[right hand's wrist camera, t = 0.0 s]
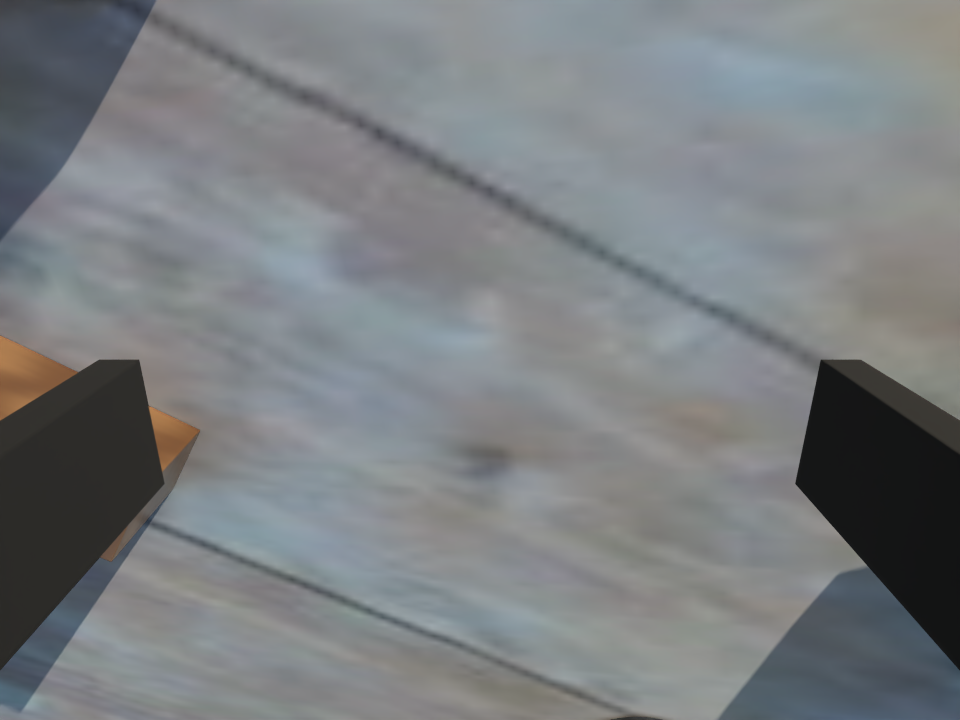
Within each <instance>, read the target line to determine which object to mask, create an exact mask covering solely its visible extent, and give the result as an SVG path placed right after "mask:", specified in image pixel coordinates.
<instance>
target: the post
mask: <svg viewBox="0 0 960 720" xmlns="http://www.w3.org/2000/svg"><path fill="white" fill-rule="evenodd" d="M77 373H78V372H76V371H74V370H72V369H70V368H68V367H65V366H63V365H61V364H59V363H57V362H55V361H53V360H51V359H49V358H47V357H44V356H42V355H40V354H38V353H36V352H34V351H32V350H30V349H28V348H25V347H23V346H21V345H19V344H17V343H15V342H13V341H11V340H9V339H6V338H4V337H2V336H0V420H2V419H4V418H5V417H7V416H8V415H10V414H12V413H13V412H15V411H17V410H18V409H20V408H21V407H23V406H25V405H26V404H28V403H30V402H31V401H33V400H35V399H36V398H38V397H39V396H41V395H43V394H44V393H46V392H48V391H49V390H51V389H52V388H54V387H56V386H57V385H59V384H61V383H62V382H64V381H65V380H67V379H69V378H70V377H72V376H74V375H75V374H77ZM149 410H150V415H151V420H152V425H153V430H154V434H155V439H156V444H157V449H158V454H159V459H160V463H161V468H162V473H163V478H164V483H165V484H164V485H163V486H162V487H161V489H160V490H159V491H158V492H157V493H156V494H155V495H154V496H153V498H152V499H151V500H150V501H149V502H148V503H147V504H146V506H145V507H144V508H143V509H142V510H141V511H140V512H139V513H138V515H137V516H136V517H135V518H134V519H133V520H132V521H131V523H130V524H129V525H128V526H127V527H126V528H125V529H124V530H123V532H122V533H121V534H120V535H119V536H118V537H117V538H116V540H115V541H114V542H113V543H112V544H111V545H110V546H109V547H108V549H107V550H106V551H105V552H104V553H103V554H102V555H101V557H100V558H103V559H105V560H108V561H110V562H112V561H113V559H114V558H115V557H116V556H117V555H118V554H119V552H120V551H121V550H122V549H123V548H124V546H125V545H126V544H127V543H128V542H129V541H130V539H131V538H132V537H133V536H134V535H135V533H136V532H137V531H138V530H139V529H140V528H141V526H142V525H143V524H144V523H145V522H146V520H147V519H148V518H149V517H150V516H151V515H152V513H153V512H154V511H155V510H156V509H157V507H158V506H159V505H160V504H161V503H162V502H163V500H164V499H165V498H166V497H167V496H168V494H169V493H170V492H171V491H172V490H173V488H174V486H175V484H176V481H177V479H178V477H179V475H180V473H181V471H182V469H183V466H184V464H185V462H186V460H187V458H188V456H189V454H190V451H191V449H192V447H193V445H194V443H195V441H196V439H197V436H198V434H199V432H200V430H198V429H196V428H194V427H192V426H190V425H188V424H186V423H184V422H182V421H179V420H177V419H175V418H173V417H171V416H169V415H167V414H165V413H163V412H160V411H158V410H156V409H154V408H152V407H150V406H149Z"/></svg>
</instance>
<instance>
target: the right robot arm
mask: <svg viewBox="0 0 960 720" xmlns="http://www.w3.org/2000/svg"><path fill="white" fill-rule="evenodd" d="M164 484H165V483H164V478H163V473H162V468H161V463H160V459H159V454H158V449H157V444H156V439H155V434H154V430H153V425H152V420H151V415H150V410H149V405H148V401H147V396H146V391H145V386H144V381H143V376H142V371H141V367H140V362H139V360H98V361H96V362H95V363H93V364H92V365H90V366H88V367H87V368H85V369H83V370H82V371H80V372H79V373H77V374H75V375H74V376H72V377H70V378H69V379H67V380H65V381H64V382H62V383H61V384H59V385H57V386H56V387H54V388H52V389H51V390H49V391H48V392H46V393H44V394H43V395H41V396H39V397H38V398H36V399H35V400H33V401H31V402H30V403H28V404H26V405H25V406H23V407H21V408H20V409H18V410H17V411H15V412H13V413H12V414H10V415H8V416H7V417H5V418H4V419H2V420H0V670H1V669H2V668H3V667H4V665H5V664H6V663H7V662H8V661H9V660H10V659H11V657H12V656H13V655H14V654H15V653H16V652H17V651H18V650H19V648H20V647H21V646H22V645H23V644H24V643H25V642H26V640H27V639H28V638H29V637H30V636H31V635H32V634H33V633H34V631H35V630H36V629H37V628H38V627H39V626H40V625H41V623H42V622H43V621H44V620H45V619H46V618H47V617H48V616H49V614H50V613H51V612H52V611H53V610H54V609H55V608H56V606H57V605H58V604H59V603H60V602H61V601H62V600H63V599H64V597H65V596H66V595H67V594H68V593H69V592H70V591H71V589H72V588H73V587H74V586H75V585H76V584H77V583H78V582H79V580H80V579H81V578H82V577H83V576H84V575H85V574H86V572H87V571H88V570H89V569H90V568H91V567H92V566H93V564H94V563H95V562H96V561H97V560H98V559H99V558H100V557H101V555H102V554H103V553H104V552H105V551H106V550H107V549H108V547H109V546H110V545H111V544H112V543H113V542H114V541H115V540H116V538H117V537H118V536H119V535H120V534H121V533H122V532H123V530H124V529H125V528H126V527H127V526H128V525H129V524H130V523H131V521H132V520H133V519H134V518H135V517H136V516H137V515H138V513H139V512H140V511H141V510H142V509H143V508H144V507H145V506H146V504H147V503H148V502H149V501H150V500H151V499H152V498H153V496H154V495H155V494H156V493H157V492H158V491H159V490H160V489H161V487H162V486H163V485H164ZM795 484H796V485H797V486H798V487H799V489H800V490H801V491H802V492H803V493H804V494H805V495H806V496H807V498H808V499H809V500H810V501H811V502H812V503H813V504H814V506H815V507H816V508H817V509H818V510H819V511H820V512H821V513H822V515H823V516H824V517H825V518H826V519H827V520H828V521H829V523H830V524H831V525H832V526H833V527H834V528H835V529H836V530H837V532H838V533H839V534H840V535H841V536H842V537H843V538H844V540H845V541H846V542H847V543H848V544H849V545H850V546H851V547H852V549H853V550H854V551H855V552H856V553H857V554H858V555H859V557H860V558H861V559H862V560H863V561H864V562H865V563H866V564H867V566H868V567H869V568H870V569H871V570H872V571H873V572H874V574H875V575H876V576H877V577H878V578H879V579H880V580H881V582H882V583H883V584H884V585H885V586H886V587H887V588H888V589H889V591H890V592H891V593H892V594H893V595H894V596H895V597H896V599H897V600H898V601H899V602H900V603H901V604H902V605H903V606H904V608H905V609H906V610H907V611H908V612H909V613H910V614H911V616H912V617H913V618H914V619H915V620H916V621H917V622H918V623H919V625H920V626H921V627H922V628H923V629H924V630H925V631H926V633H927V634H928V635H929V636H930V637H931V638H932V639H933V640H934V642H935V643H936V644H937V645H938V646H939V647H940V648H941V650H942V651H943V652H944V653H945V654H946V655H947V656H948V657H949V659H950V660H951V661H952V662H953V663H954V664H955V665H956V667H957V668H958V669H959V670H960V420H958V419H956V418H955V417H953V416H952V415H950V414H948V413H947V412H945V411H943V410H942V409H940V408H939V407H937V406H935V405H934V404H932V403H930V402H929V401H927V400H925V399H924V398H922V397H921V396H919V395H917V394H916V393H914V392H912V391H911V390H909V389H908V388H906V387H904V386H903V385H901V384H899V383H898V382H896V381H894V380H893V379H891V378H890V377H888V376H886V375H885V374H883V373H881V372H880V371H878V370H877V369H875V368H873V367H872V366H870V365H868V364H867V363H865V362H864V361H862V360H821V362H820V367H819V371H818V376H817V381H816V386H815V391H814V396H813V401H812V405H811V410H810V415H809V420H808V425H807V430H806V434H805V439H804V444H803V449H802V454H801V459H800V463H799V468H798V473H797V478H796V483H795ZM612 720H661V719H656V718H648V717H625V718H617V719H612Z"/></svg>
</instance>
